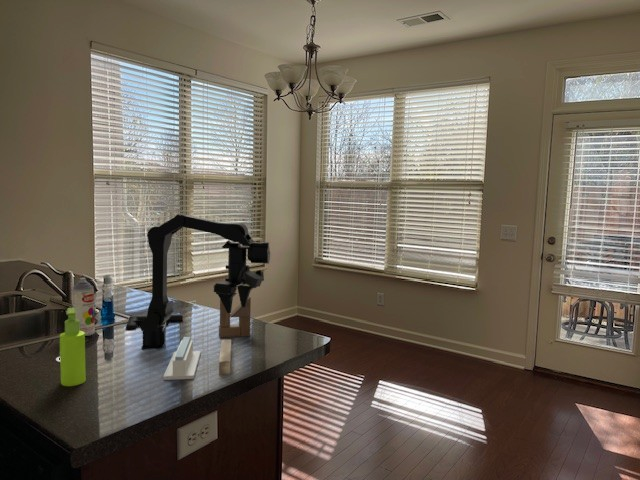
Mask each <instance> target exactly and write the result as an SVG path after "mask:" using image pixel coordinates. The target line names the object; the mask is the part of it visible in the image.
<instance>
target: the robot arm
mask: <svg viewBox="0 0 640 480" xmlns="http://www.w3.org/2000/svg"><path fill="white" fill-rule="evenodd" d="M183 228H187V229H190V230H196V231H201V232H204V233H208V234H209V233H210V234H215V235H218V236H220V237H221V238H223V239H226V240H227V241H226V242H225V244H223V245H222V246H221V248H222V249H228V253H227V254H228V255H227V256H228V257H227V261H228V263H227V264H228V265H225V269H226V270H227V277H226V278H224V279H225V281H219V282H216V283H214V285H213V293H215V294H216V295H217V296H218V297H219V300H220V299H221V301H222V303H223V305H224V307H225V309H226V311H227V313H230V314H231V312H232V307H233V300H234V299H233V298H234V297H235V296H236V295H237V293H238V296H239V301H240V303H241V305H242V307H245V306H246V303H247V300H248V297H249V296H250V294H251V291H253V289H256V288H257V287H260V286H261V285H262V282H263V281H265V275H264V271H263V270H261V269H258V270H256V271H252V270H250V266H249V264H247V260H248V262H249V261H250V263H251V264H266V265H267V264H270V260H271V250H270V243H269V242H268V241H267V242H266V241H264V242H255V241H254V240H253V238H252V237H251V235H250V233H249V229H248V226H247V225H246V224H244V223H242V222H220V221H215V220H211V219H206V218H201V217H197V216H192V215H188V214H185V213H178V214H176V215H175V216H174V217H172V218H171V219H169V220H168V221H166V222H164V223H162V224H160V225H156V226H153V227H150V228H149V230H148V231H147V235H146V236H147V242H148V246H149V249H150V252H151V254H152V258H151V259H152V262H151V263H152V265H151V266H152V267H151V268H152V270H151V271H152V274H151V275H152V280H151V282H152V285H151V287H152V289H151V290H152V291H151V292H152V293H151V295H152V296H151V299H150V302H149V304H148V308H147V313H146V315H147V318H146V319H145V320H144V321H143V322H142V323H141V324H140V325H139V326H138V327H139V329H140V331H141V332H142V345H141V349H142V350H143V349H147V350H149V349H163V347H164V346H165V345H166V343H167V339H166V338H167V331H166V330H165V331H164V326H162V325H164V324H165V322H166V320H168V319H169V318H170V316H171V314H174V309H173V305H174V300H169V298H168V294H167V292H168V288H167V287H168V252H169V249H170V247H171V243H172V239H173V235H175V234H176V233H178V231H180V230H181V229H183ZM236 291H238V292H236Z"/></svg>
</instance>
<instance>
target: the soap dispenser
mask: <svg viewBox="0 0 640 480" xmlns="http://www.w3.org/2000/svg"><path fill="white" fill-rule="evenodd" d="M75 311H76V307H74V308H72V307H68V308H66V316H67V317H68V318H67V319H66V320H65V321H64V332H62V333H60V334H59V356H60V362H59V363H60V365H59V366H60V385H62V386H64V387H74V386H79V385H81V384H83V383H85V382H86V380H87V379H86V378H87V377H86V375H87V373H86V372H87V371H86V337H85V332H83V331H79V320H78V319H76V313H75Z"/></svg>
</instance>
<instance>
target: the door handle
mask: <svg viewBox="0 0 640 480" xmlns="http://www.w3.org/2000/svg"><path fill="white" fill-rule="evenodd" d="M183 316H184V315H183V314H182V313H171V316H170V318H169V319H168V320H166V322H165V324H164V325H162V326H164V331H166V328H167V326H169V323H172V322H173V323H175V322H182V321H183V319H184V317H183ZM146 318H147V314H140V315H139V314H138V315H134V314H133V315H131V316H129V317H128V321H127V323H126V325H125V329H126V330H128V331H133V330H136V329H137V327H140V326H139V325H140V324H141V323H142V322H143V321H144V320H145V319H146Z"/></svg>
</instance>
